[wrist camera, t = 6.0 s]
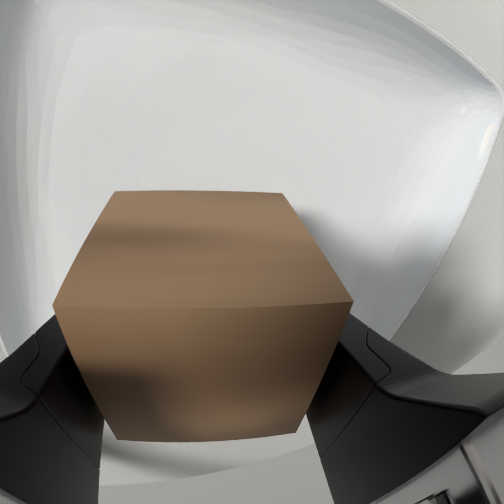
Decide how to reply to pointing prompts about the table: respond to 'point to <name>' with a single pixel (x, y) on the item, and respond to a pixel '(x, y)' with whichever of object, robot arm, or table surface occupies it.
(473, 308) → the table surface
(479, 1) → the table surface
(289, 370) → the walnut cube
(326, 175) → the salad plate
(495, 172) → the table surface
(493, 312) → the table surface
